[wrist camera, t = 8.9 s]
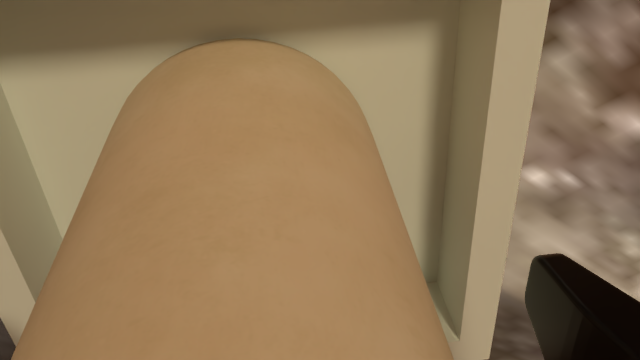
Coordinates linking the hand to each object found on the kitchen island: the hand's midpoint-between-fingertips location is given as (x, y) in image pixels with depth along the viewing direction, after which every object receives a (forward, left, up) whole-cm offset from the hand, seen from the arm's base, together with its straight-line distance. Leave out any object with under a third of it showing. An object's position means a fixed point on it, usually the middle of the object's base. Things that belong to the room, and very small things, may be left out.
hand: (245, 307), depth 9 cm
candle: (0, 0, -5) cm, 5 cm away
